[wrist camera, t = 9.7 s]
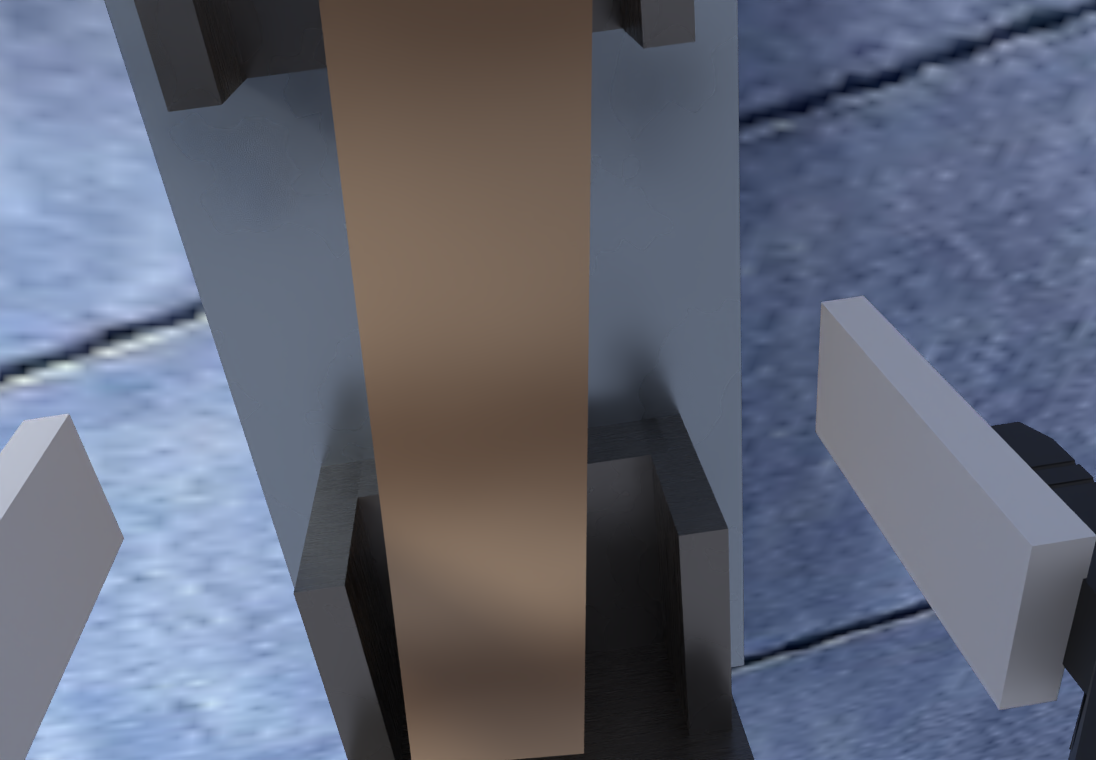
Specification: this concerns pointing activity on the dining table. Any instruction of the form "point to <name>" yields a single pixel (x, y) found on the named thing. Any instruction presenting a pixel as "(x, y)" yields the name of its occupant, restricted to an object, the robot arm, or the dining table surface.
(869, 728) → the dining table surface
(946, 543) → the robot arm
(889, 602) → the dining table surface
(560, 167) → the rail
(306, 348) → the block fixture
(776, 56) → the dining table surface
